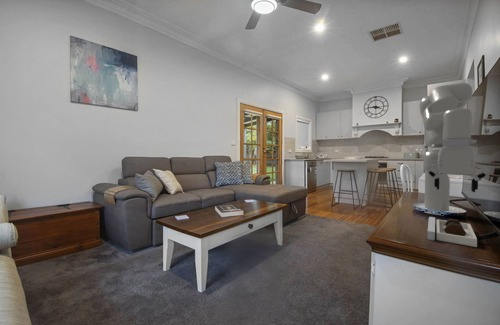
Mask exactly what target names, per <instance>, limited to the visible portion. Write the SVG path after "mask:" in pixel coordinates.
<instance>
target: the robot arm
mask: <svg viewBox="0 0 500 325" xmlns="http://www.w3.org/2000/svg"><path fill="white" fill-rule="evenodd" d="M472 96H473V87H472V86H471V84H469V83H467V82H461V83H459V82H458V83H454V84H453V83H452V84H446V85H445V84H444V85H439V86H436V87H435V88H434V89H432V90H431V92H430V93H429V95H427V96H424V97H423V98H422V99H421V100H420V102H419V111H420V115H421V117H422V122H423V127H424V129H425V142H426V145H427V147H429V148H431V150H427V151H425V152H424V154H423V156H422V160H423V166H424V207H425V208H427V209H434V210H440V211H449V210H450V193H451V192H450V189H451V187H450V185H451V184H450V182H451V180H450V175H454V176H470V177H471V178H472V180H471V183H470V184H471V187H470V188H471V189H470V190H471V192H472V193H476V190H478V189H479V181H480V180H481V179H483V178H485V177H486V175H487V174H488V173H489V172H490V171H491V168H489V167H487V166H484V165H482V164H479V163H476V156H475V155H476V154H475V150H474V146H472V145H474V144H477V139H473V138H472V123H473V116H472V114H473V112H472V110H471V109H470V108H464V107H465V106H466V105H467V104H468V103H469V102H470V101H471V99H472ZM476 168H477V169H480V170H482V171H481V173H479V174H478V175H476V174H475V172H476ZM424 213H425V214H429V215H435V216H442V217H443V216H444V215H441V214H439V213H431V212H424Z"/></svg>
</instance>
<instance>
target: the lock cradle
mask: <svg viewBox="0 0 500 325" xmlns="http://www.w3.org/2000/svg"><path fill="white" fill-rule="evenodd" d="M446 222H447V220H446V219H445V220H444V219H439V218H438V219H437V218H436V224H435V227H436V241H441V242H445V243H452V244H458V245H462V246H463V245H464V246H467V247H468V246H469V247H474V248H477V247H478V239H477V238H478V237H477V236H476V234H475V232H474V229H473V227H472V225H471V223H467V222H466V223H465V222H460V224H461V225H462V228H463V229H464V230H465V232H466V235H465V236H458V235H452V234H446V233H445V231H444V228H445V227H446V226H445V223H446Z"/></svg>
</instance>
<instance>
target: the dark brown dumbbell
mask: <svg viewBox="0 0 500 325" xmlns="http://www.w3.org/2000/svg"><path fill="white" fill-rule="evenodd" d="M446 221H447V222H446V223H445V226H446V227H445V228H444V231H445V233H446V234H452V235H458V236H465V235H466V232H465V230H464V229H463V228H462V225H461V224H460V223H461V221H459V219H455V218H454V219H453V218H448V219H447V220H446Z"/></svg>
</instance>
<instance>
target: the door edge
mask: <svg viewBox="0 0 500 325" xmlns="http://www.w3.org/2000/svg"><path fill="white" fill-rule="evenodd" d="M427 223H428V224H427V234H426V235H427V240H429V241H435V240H436V217H434V216H429V217H428V222H427Z"/></svg>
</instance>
